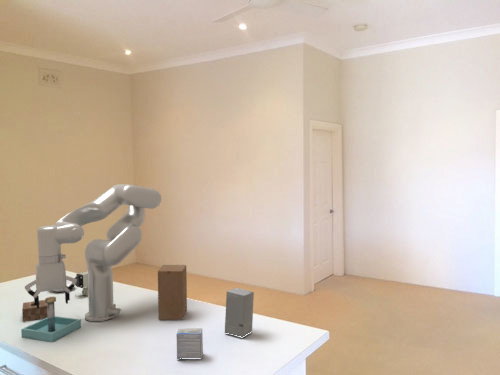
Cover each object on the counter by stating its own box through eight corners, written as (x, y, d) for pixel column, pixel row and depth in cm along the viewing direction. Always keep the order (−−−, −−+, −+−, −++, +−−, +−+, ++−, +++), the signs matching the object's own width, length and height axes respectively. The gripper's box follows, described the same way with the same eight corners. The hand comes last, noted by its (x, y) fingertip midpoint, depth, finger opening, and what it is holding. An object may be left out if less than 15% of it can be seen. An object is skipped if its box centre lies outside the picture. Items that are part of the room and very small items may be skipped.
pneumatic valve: (101, 292, 199) (101, 268, 198) (79, 299, 190) (78, 273, 189) (95, 290, 202) (94, 266, 202) (73, 296, 193) (72, 271, 192)
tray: (80, 327, 156) (80, 319, 156) (52, 342, 143) (52, 333, 143) (51, 323, 160) (51, 315, 160) (21, 337, 147) (21, 329, 147)
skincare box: (224, 334, 148) (223, 291, 147) (235, 327, 154) (235, 286, 153) (243, 339, 144) (243, 295, 143) (254, 332, 149) (254, 290, 149)
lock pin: (59, 329, 153) (58, 297, 152) (51, 333, 149) (50, 300, 148) (51, 328, 154) (50, 296, 153) (43, 331, 150) (42, 299, 150)
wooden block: (183, 320, 162) (182, 270, 161) (158, 320, 162) (157, 270, 161) (187, 311, 172) (186, 264, 171) (163, 311, 172) (162, 264, 171)
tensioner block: (47, 311, 174) (47, 299, 174) (48, 317, 166) (47, 305, 166) (23, 314, 170) (23, 302, 170) (22, 321, 162) (22, 309, 162)
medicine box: (203, 353, 133) (202, 327, 133) (201, 360, 129) (201, 333, 128) (178, 354, 133) (178, 328, 132) (176, 360, 128) (176, 333, 128)
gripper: (74, 254, 157) (77, 298, 159) (23, 260, 150) (26, 305, 151) (76, 258, 151) (78, 303, 152) (22, 264, 143) (25, 312, 144)
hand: (52, 304), depth 151 cm, fingers open, 9 cm apart
